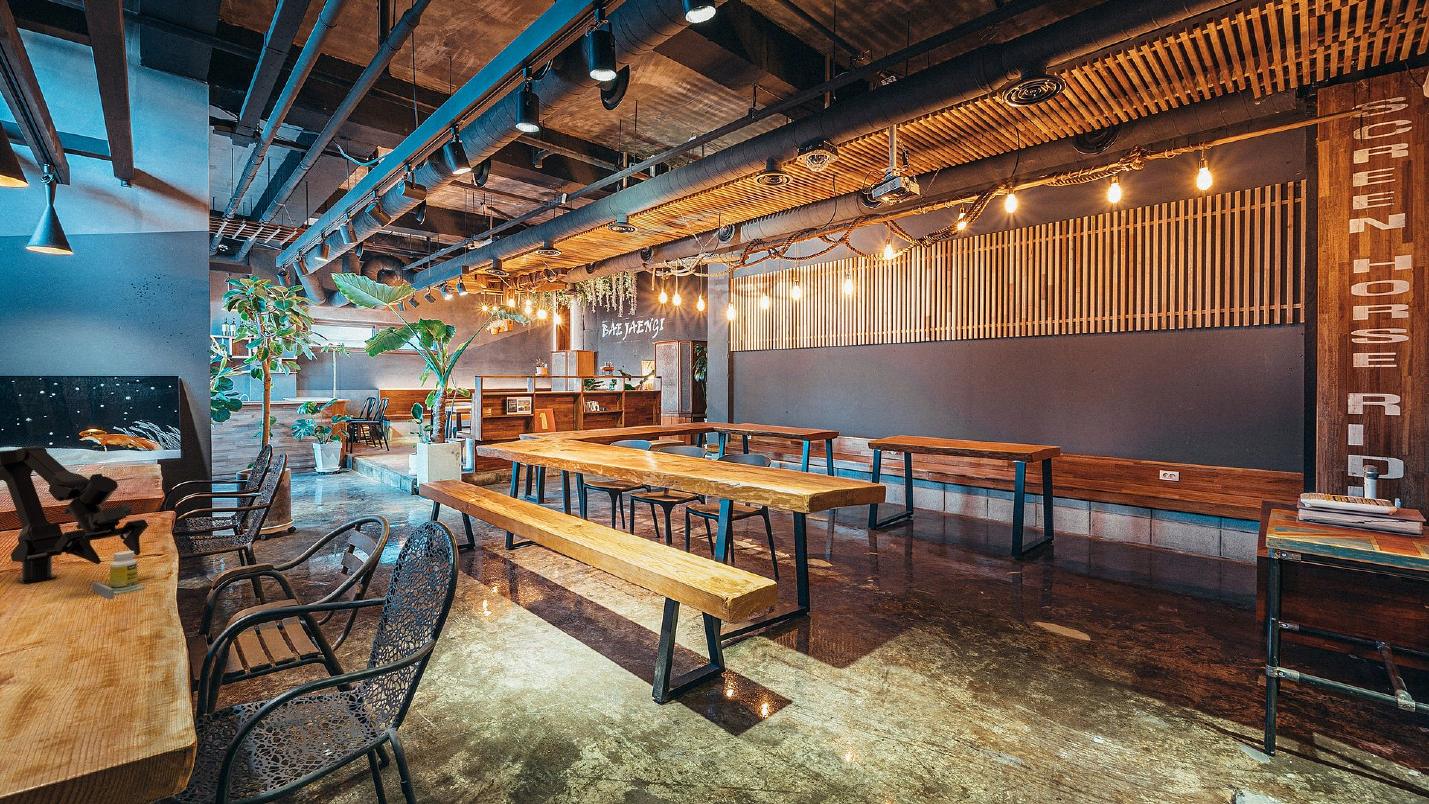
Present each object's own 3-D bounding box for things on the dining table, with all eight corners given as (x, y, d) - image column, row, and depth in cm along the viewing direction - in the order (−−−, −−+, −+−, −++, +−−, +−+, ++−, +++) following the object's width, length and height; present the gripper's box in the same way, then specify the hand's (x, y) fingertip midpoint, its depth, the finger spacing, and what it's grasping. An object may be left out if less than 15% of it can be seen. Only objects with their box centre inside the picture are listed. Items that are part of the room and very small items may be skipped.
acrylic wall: (92, 591, 167) (92, 582, 167) (96, 590, 167) (96, 581, 167) (109, 599, 161) (109, 589, 161) (113, 598, 161) (113, 589, 161)
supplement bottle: (129, 590, 167) (129, 554, 167) (105, 592, 165) (104, 555, 165) (142, 584, 172) (141, 549, 172) (118, 585, 170) (118, 550, 170)
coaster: (105, 590, 168) (105, 588, 168) (134, 584, 173) (134, 583, 173) (115, 594, 164) (115, 593, 164) (144, 588, 169) (144, 587, 169)
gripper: (63, 502, 161) (93, 548, 158) (144, 491, 179) (172, 532, 177) (41, 529, 163) (71, 575, 160) (123, 516, 181) (151, 557, 179)
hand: (119, 558), depth 169 cm, fingers open, 9 cm apart
